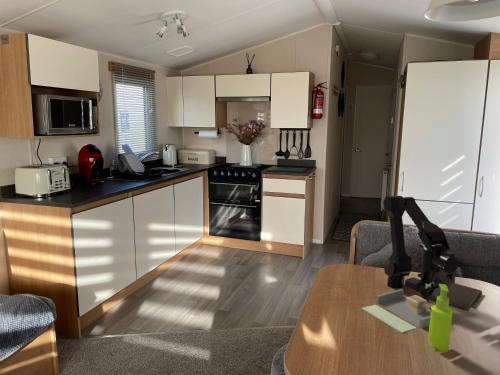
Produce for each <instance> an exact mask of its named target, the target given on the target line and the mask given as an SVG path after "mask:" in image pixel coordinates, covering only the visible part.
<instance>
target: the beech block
mask: <svg viewBox="0 0 500 375" xmlns="http://www.w3.org/2000/svg"><path fill="white" fill-rule="evenodd" d="M405 298H406V305H405V308H407V309H409V310H411V311H412V312H414V313H416V314H418V313H421V312H424V311H426V309H427V307H428V303H427V300H425V299H423V297H422V296H419V295H416V294H415V295H410V296H406V297H405Z"/></svg>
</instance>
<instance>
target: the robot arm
mask: <svg viewBox="0 0 500 375" xmlns="http://www.w3.org/2000/svg"><path fill="white" fill-rule="evenodd" d="M382 202H383V208H384V212H385V213H386V215H387V217H388V218H389V225H390V237H391V238H390V239H391V247H392V248H391V249H392V253H391V254H390V255H389V256H390V257H389V259H388V262H389V264H387V265H386V266H385V267H384V268H383V270H384V274H385V275H387V277H388V278H387V283H386V286H387V287H388V288H391V289H403V288H404V286H405V287H406V288H409V289H411V290H413V291H415V292H420V294H421V298H423V299H425V300H427V304H428V303H429V301H431V300H430V298H431V296H432V294H433V292H434V290H435V289H437V288H440V286H439V284H445V285H446V286H447V288H448V289H449V288H450V287H451V285H452V284H455V283H456V274H454V273H455V272H456V271H457V270H458V268H459V267H460V263H459V260H458V259H457V257H456V254H455V253H454V252H450V251H451V248H450V243H449V242H448V240H447V237H446V234H445V231H443V229H441V227H439V225H437V224H435V223H433V222H431V221H430V220H429V218H428V217H427V215H426V214H425V212H423V210H422V209H421V207H420V206H419V205H418V203H417V201H416V199H415V198H414V197H413V196H405V197H404V196H402V195H387V196H385V197H384V199H383V201H382ZM405 213H406V214H407V215H408V217H409V218H410V220H412V222H413V224H414V225H415V226H416V228H417V231H418V232H417V235H418V237H419V239H420V241H421V243H420V244H419V245H418V246H419V247H420V248H421V249H422V253H421V254H422V256H421V262H420V263H418V267H420V273H417V277H418V278H416V277H409V278H407V279H405V277H408V276H410V274H411V272H412V269H413V259H412V255H409V254H408V253H407V252H406V245H405V244H406V242H405V232H404V224H403V220H404V219H403V216H404V214H405ZM419 278H420V279H419Z"/></svg>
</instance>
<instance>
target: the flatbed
mask: <svg viewBox="0 0 500 375" xmlns="http://www.w3.org/2000/svg"><path fill="white" fill-rule="evenodd" d="M404 291H405V290H404V289H403V288H398V289H396V290H392V291H388V292H385V293H381V294H378V295H376V305H378V306H380V307H383V309H385V310H387V311H389V312H391V313H392V314H393V313H394V314H395V315H397V316H398V317H399V318H400V317H401V319H403V320H406V322H409V323H412V325H413V326H414V325H415V327H418V328H420V329H424V328H427V327H428V328H429V324H430V315H431V309H428V308H426V311H424V312H421V313H418V314H416V313H414V312H412V311H411V310H409V309H407V308H405V305H406V297H404V293H405V292H404Z"/></svg>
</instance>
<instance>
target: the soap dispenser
mask: <svg viewBox="0 0 500 375" xmlns="http://www.w3.org/2000/svg"><path fill="white" fill-rule="evenodd" d="M439 286H440V289H441V293H440V296H438V297H437V301H435V302H436V304H434V305H431V307H430V311H431V315H430V324H429V326H428V336H427V337H428V338H427V343H428V345H429V346H430V347H431V348H433V349H435V350H433V351H434V352H436V353H440V354H441V353H442V354H444V353H445V354H446V353H447V352H449V348H450V342H451V341H450V339H451V332H452V323H453V314H454V311H453V309H452V308H450V307H449V298H447V292H448V288H447V286H446V285H445V284H439Z"/></svg>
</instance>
